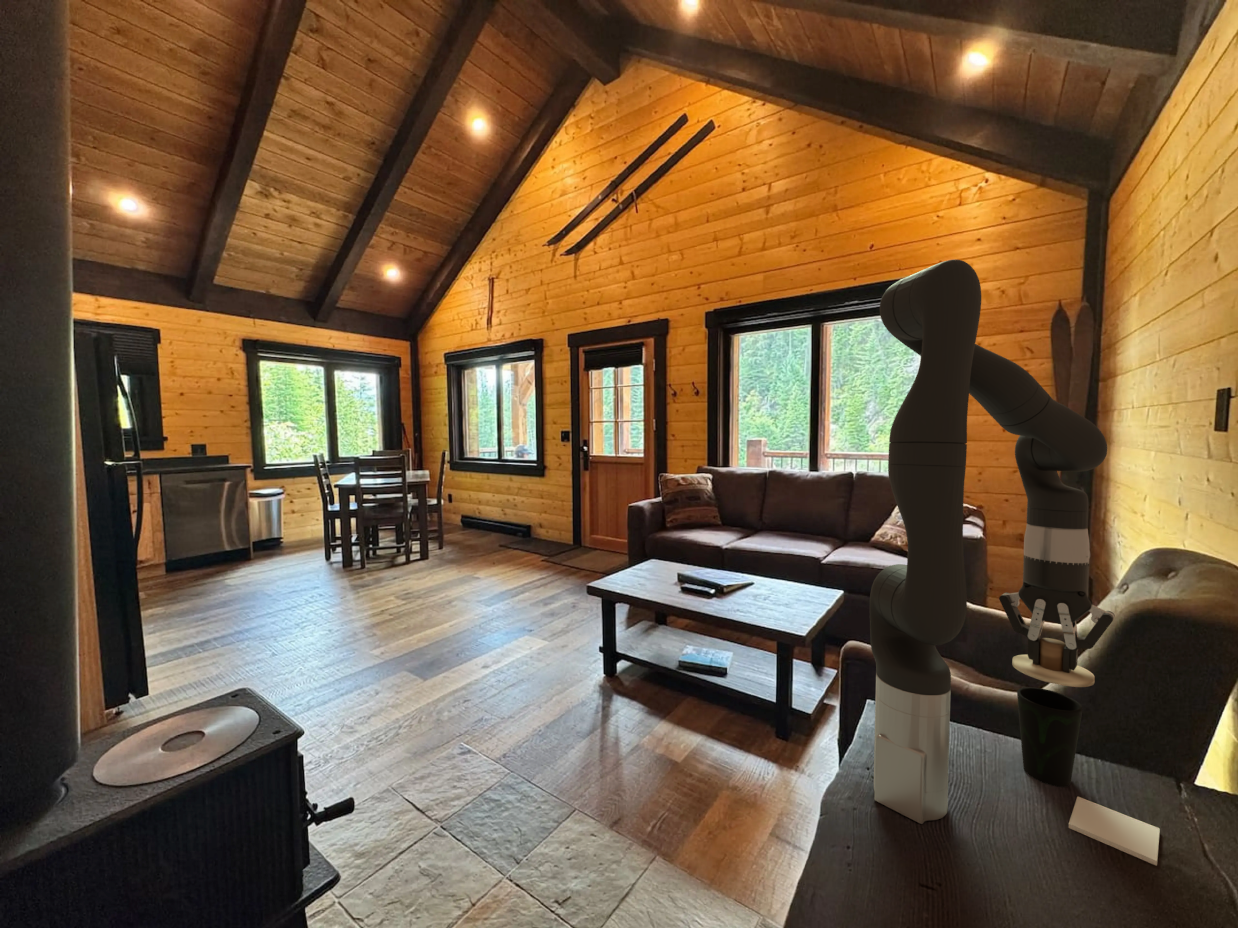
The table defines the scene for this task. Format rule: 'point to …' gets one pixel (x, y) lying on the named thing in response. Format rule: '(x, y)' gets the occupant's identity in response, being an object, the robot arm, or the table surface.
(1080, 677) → the lid
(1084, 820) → the plate
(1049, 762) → the cup
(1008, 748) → the table surface
